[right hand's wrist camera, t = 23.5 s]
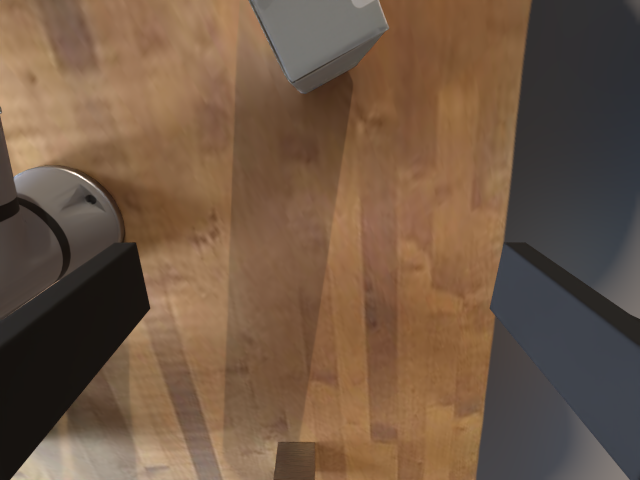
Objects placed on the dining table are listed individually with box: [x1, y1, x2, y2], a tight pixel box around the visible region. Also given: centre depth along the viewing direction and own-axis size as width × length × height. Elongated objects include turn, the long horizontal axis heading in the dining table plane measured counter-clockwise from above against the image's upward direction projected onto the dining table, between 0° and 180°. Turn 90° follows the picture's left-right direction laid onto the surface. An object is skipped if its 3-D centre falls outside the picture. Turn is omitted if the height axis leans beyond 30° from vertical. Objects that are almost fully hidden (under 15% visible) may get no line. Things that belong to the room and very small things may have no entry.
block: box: [273, 443, 315, 480], centre depth 63 cm, size 8×7×8 cm
